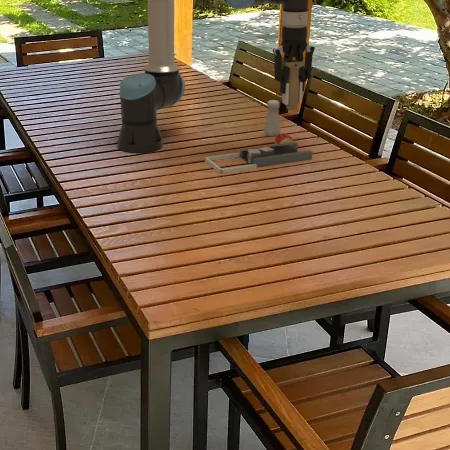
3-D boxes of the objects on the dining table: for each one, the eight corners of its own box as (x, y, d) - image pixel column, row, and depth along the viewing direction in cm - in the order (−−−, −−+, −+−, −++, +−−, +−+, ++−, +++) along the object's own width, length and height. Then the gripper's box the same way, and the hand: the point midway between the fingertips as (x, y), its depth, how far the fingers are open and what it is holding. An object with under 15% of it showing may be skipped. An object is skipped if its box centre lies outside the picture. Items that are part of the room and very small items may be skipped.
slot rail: (255, 170, 221) (255, 159, 219) (240, 160, 230) (240, 149, 229) (311, 162, 228) (312, 151, 227) (295, 152, 237) (295, 142, 236)
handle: (303, 110, 223) (306, 62, 216) (283, 111, 221) (285, 63, 215) (299, 106, 227) (301, 59, 221) (279, 107, 226) (281, 59, 220)
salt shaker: (275, 140, 249) (276, 103, 244) (261, 137, 252) (262, 101, 247) (283, 136, 254) (284, 100, 249) (268, 133, 257) (270, 97, 252)
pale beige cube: (264, 162, 225) (265, 151, 224) (258, 159, 228) (258, 148, 226) (273, 160, 227) (274, 149, 225) (267, 157, 230) (267, 146, 228)
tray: (220, 176, 215) (220, 170, 215) (204, 163, 226) (204, 157, 225) (256, 171, 220) (256, 164, 219) (238, 159, 231) (238, 152, 230)
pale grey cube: (249, 163, 224) (249, 153, 222) (247, 160, 227) (247, 149, 225) (260, 163, 224) (260, 152, 223) (258, 159, 227) (258, 149, 226)
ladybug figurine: (279, 151, 239) (280, 140, 238) (269, 142, 248) (270, 132, 247) (298, 149, 241) (298, 139, 240) (288, 140, 250) (288, 131, 248)
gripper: (275, 29, 208) (272, 108, 217) (326, 25, 214) (321, 102, 223) (263, 25, 214) (261, 102, 223) (313, 22, 220) (309, 97, 230)
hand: (291, 102), depth 223 cm, fingers closed on handle, 4 cm apart
